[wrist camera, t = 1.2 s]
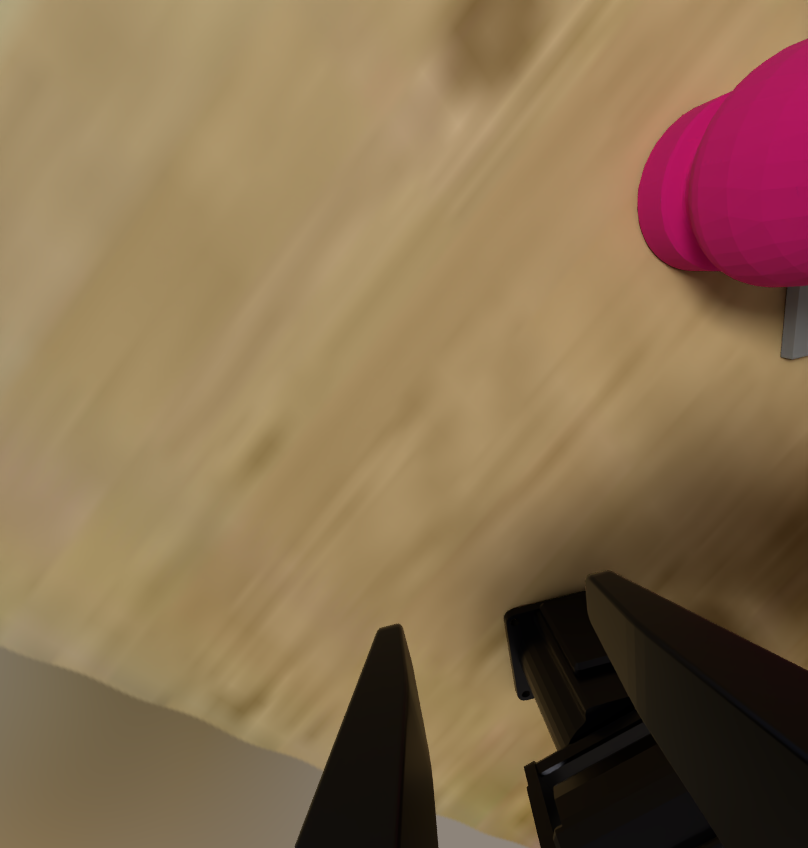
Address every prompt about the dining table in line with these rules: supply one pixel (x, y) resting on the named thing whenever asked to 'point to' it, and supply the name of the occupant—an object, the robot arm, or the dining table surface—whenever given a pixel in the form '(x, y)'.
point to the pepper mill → (736, 180)
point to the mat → (795, 323)
